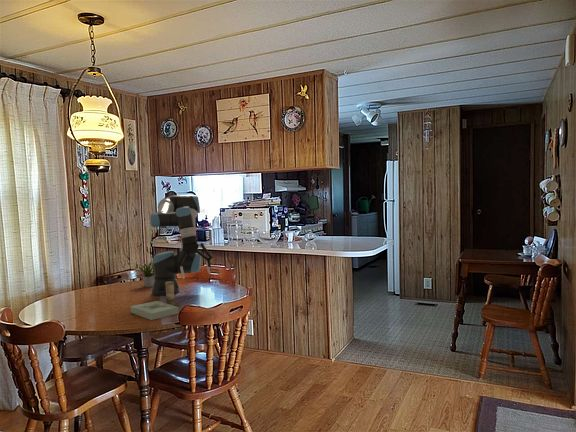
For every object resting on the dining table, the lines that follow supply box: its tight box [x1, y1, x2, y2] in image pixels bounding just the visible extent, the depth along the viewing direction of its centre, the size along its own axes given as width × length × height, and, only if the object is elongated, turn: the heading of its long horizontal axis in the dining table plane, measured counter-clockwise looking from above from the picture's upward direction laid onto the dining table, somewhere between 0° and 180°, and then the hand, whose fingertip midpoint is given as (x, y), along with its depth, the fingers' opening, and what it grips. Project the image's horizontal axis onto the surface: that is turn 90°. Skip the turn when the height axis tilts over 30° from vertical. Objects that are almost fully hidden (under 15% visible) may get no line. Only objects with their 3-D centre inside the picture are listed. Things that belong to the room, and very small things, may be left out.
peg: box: [165, 282, 176, 306], centre depth 222 cm, size 4×4×12 cm
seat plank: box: [130, 300, 180, 321], centre depth 209 cm, size 20×14×3 cm
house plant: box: [137, 260, 154, 288], centre depth 275 cm, size 14×14×16 cm
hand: (196, 276), depth 231 cm, fingers open, 13 cm apart
